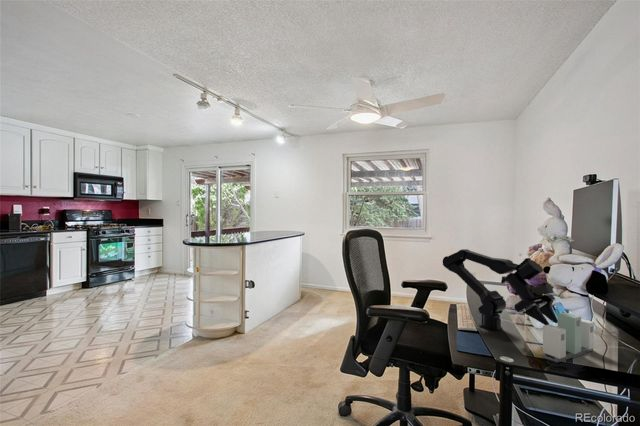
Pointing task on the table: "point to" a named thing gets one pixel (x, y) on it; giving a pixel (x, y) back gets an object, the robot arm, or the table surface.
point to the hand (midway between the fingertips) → (552, 324)
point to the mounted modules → (557, 338)
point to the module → (571, 331)
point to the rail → (567, 355)
